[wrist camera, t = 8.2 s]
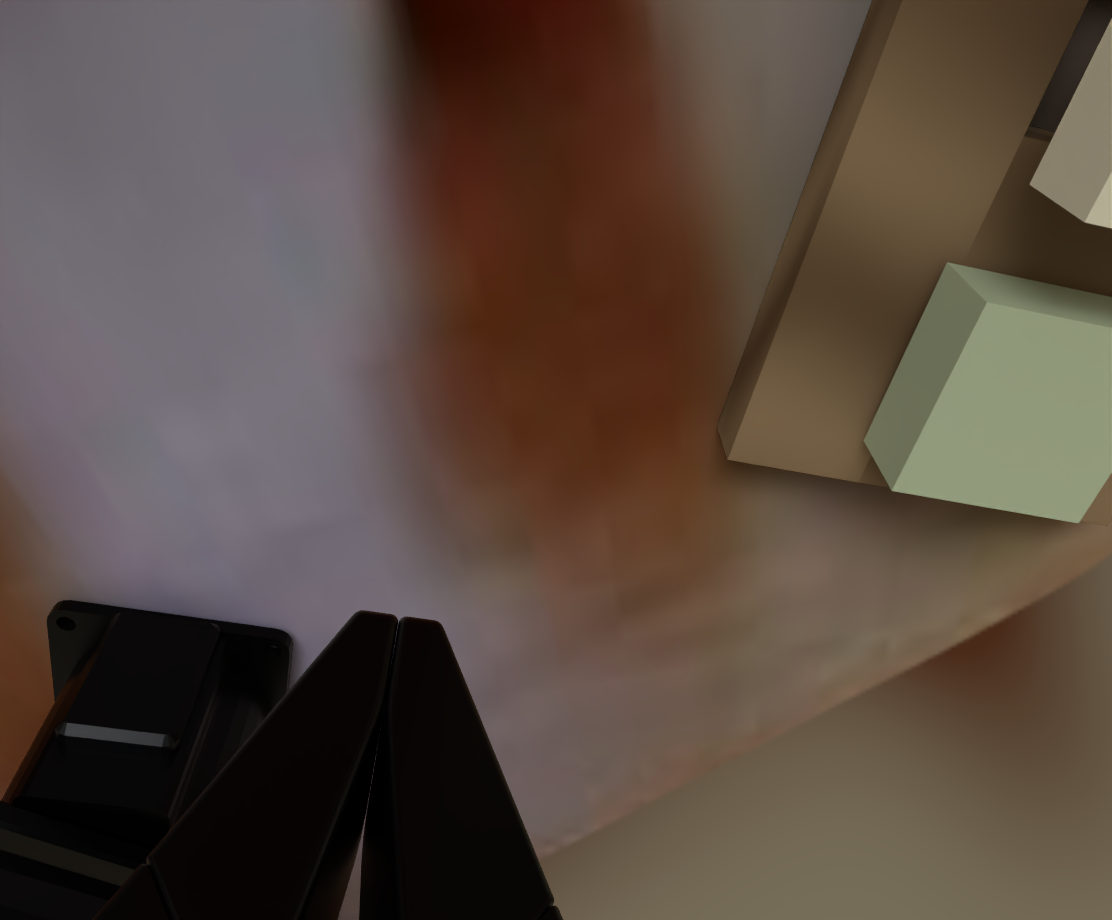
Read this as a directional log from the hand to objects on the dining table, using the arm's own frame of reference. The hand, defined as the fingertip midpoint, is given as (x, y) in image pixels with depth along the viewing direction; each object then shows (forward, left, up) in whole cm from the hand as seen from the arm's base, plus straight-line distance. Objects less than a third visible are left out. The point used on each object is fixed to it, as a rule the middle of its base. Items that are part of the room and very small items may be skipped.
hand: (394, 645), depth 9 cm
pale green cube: (0, -12, -13) cm, 17 cm away
